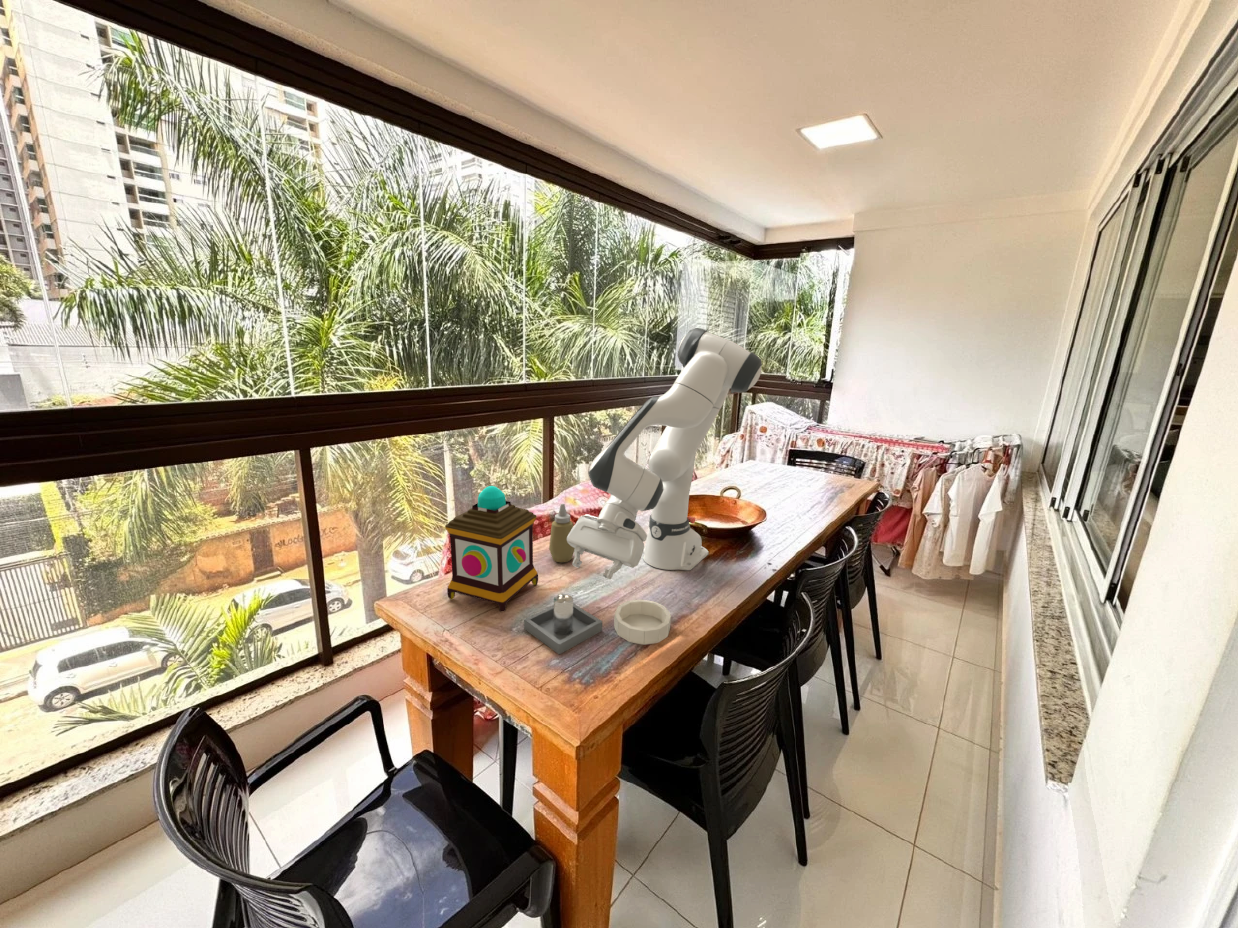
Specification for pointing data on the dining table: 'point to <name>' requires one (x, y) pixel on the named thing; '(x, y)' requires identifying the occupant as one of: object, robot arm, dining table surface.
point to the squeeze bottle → (561, 537)
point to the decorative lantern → (492, 549)
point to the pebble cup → (563, 614)
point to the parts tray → (544, 631)
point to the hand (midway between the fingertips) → (590, 571)
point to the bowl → (642, 621)
